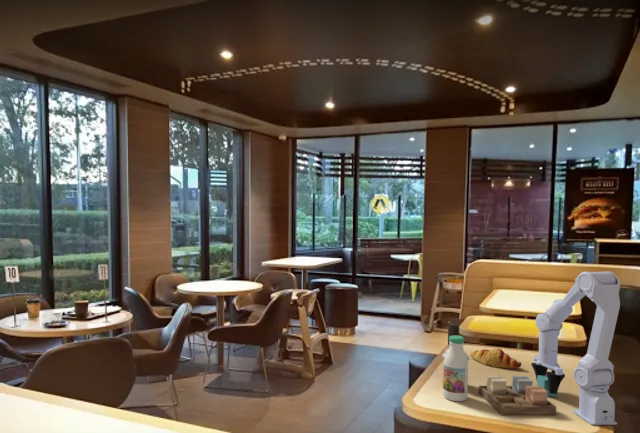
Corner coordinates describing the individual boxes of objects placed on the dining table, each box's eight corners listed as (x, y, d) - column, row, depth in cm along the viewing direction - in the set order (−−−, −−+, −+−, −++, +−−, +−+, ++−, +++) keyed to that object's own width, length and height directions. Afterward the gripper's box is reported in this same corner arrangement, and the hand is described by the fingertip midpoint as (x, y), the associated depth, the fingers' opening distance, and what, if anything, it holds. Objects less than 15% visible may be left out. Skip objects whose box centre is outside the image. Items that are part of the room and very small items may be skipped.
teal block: (556, 396, 156) (557, 380, 156) (544, 396, 155) (544, 380, 155) (549, 391, 160) (549, 375, 160) (536, 391, 160) (537, 375, 160)
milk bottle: (448, 391, 158) (450, 332, 158) (470, 397, 153) (472, 336, 153) (438, 397, 152) (440, 336, 152) (461, 404, 147) (463, 341, 147)
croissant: (466, 367, 193) (462, 352, 191) (476, 352, 200) (472, 337, 197) (518, 380, 179) (515, 364, 176) (527, 362, 186) (523, 347, 183)
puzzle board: (556, 415, 141) (556, 393, 141) (501, 415, 140) (502, 393, 140) (527, 393, 158) (528, 374, 158) (478, 393, 157) (479, 373, 157)
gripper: (525, 342, 165) (524, 381, 165) (548, 355, 150) (547, 397, 150) (545, 343, 165) (544, 381, 165) (569, 355, 151) (568, 397, 151)
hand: (546, 388), depth 158 cm, fingers open, 7 cm apart
